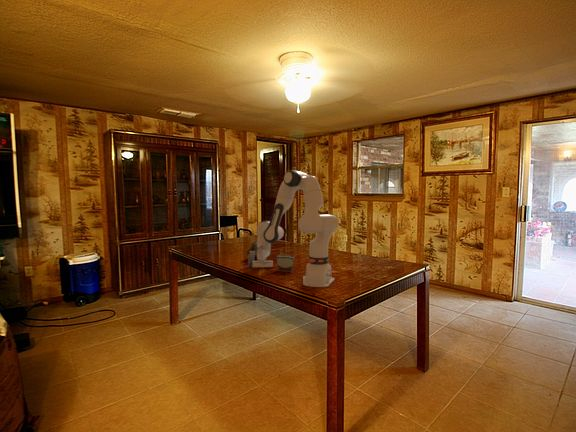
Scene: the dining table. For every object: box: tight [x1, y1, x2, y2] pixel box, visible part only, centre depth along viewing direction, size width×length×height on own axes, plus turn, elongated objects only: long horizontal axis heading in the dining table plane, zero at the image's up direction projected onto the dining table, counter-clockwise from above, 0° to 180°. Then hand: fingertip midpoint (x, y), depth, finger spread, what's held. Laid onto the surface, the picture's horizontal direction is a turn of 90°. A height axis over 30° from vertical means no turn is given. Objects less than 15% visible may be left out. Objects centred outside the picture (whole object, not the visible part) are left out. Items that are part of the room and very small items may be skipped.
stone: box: [246, 240, 259, 259], centre depth 241 cm, size 15×10×15 cm
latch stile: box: [250, 251, 256, 264], centre depth 227 cm, size 2×3×9 cm
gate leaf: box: [252, 260, 274, 268], centre depth 213 cm, size 14×1×4 cm, turn 93°
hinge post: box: [247, 254, 253, 269], centre depth 213 cm, size 3×3×10 cm
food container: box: [275, 254, 295, 273], centre depth 206 cm, size 12×6×10 cm, turn 74°
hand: (263, 264), depth 211 cm, fingers closed
